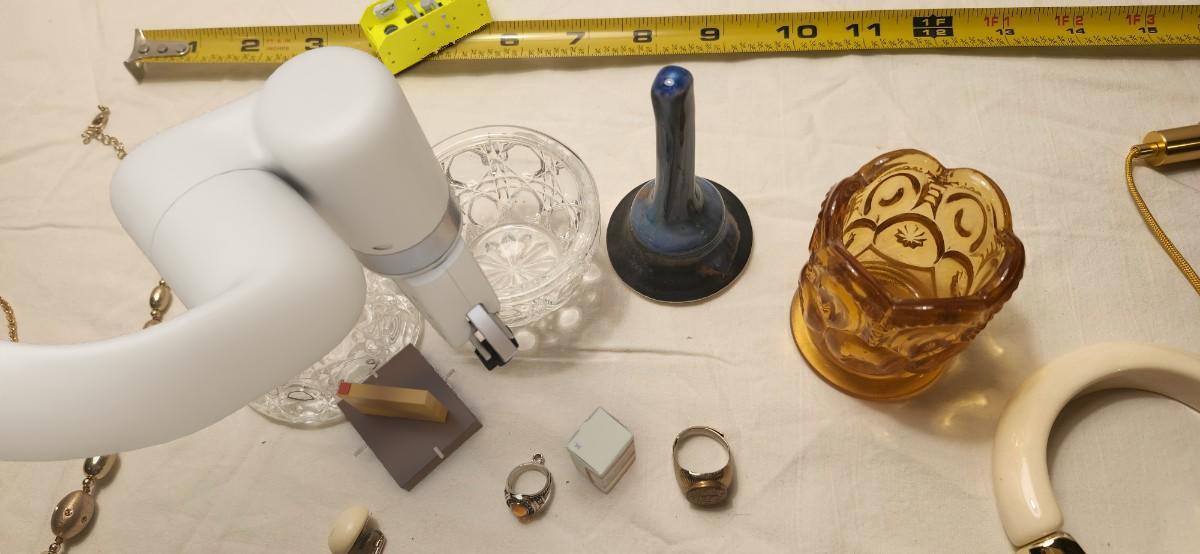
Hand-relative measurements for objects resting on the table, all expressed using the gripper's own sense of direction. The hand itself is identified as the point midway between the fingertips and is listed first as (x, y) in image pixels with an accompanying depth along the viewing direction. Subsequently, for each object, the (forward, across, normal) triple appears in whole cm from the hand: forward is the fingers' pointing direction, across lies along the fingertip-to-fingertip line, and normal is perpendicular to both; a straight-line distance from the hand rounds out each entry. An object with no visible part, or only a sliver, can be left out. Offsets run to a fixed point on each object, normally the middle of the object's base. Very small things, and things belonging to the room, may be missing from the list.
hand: (467, 317), depth 63 cm
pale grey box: (+20, +13, +2) cm, 24 cm away
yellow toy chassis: (+20, -46, +23) cm, 55 cm away
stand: (+20, -5, -10) cm, 23 cm away
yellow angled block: (+17, -5, -10) cm, 21 cm away
